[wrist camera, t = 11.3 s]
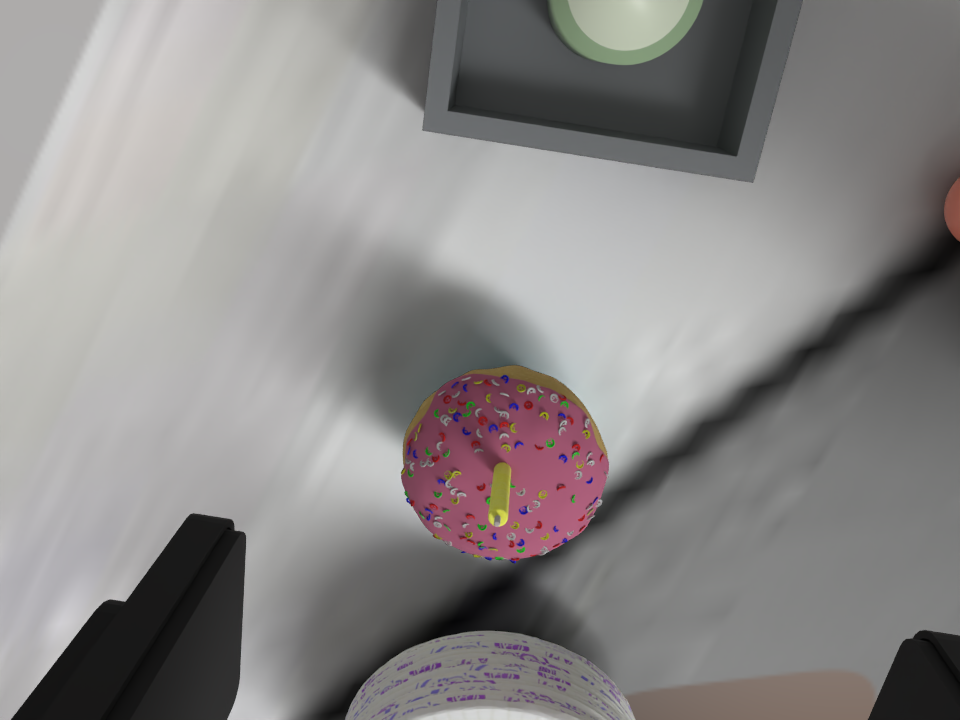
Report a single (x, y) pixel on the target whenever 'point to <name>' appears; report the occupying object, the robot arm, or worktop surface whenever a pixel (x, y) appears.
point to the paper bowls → (489, 682)
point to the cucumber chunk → (621, 27)
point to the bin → (612, 86)
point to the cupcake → (504, 463)
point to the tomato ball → (953, 209)
